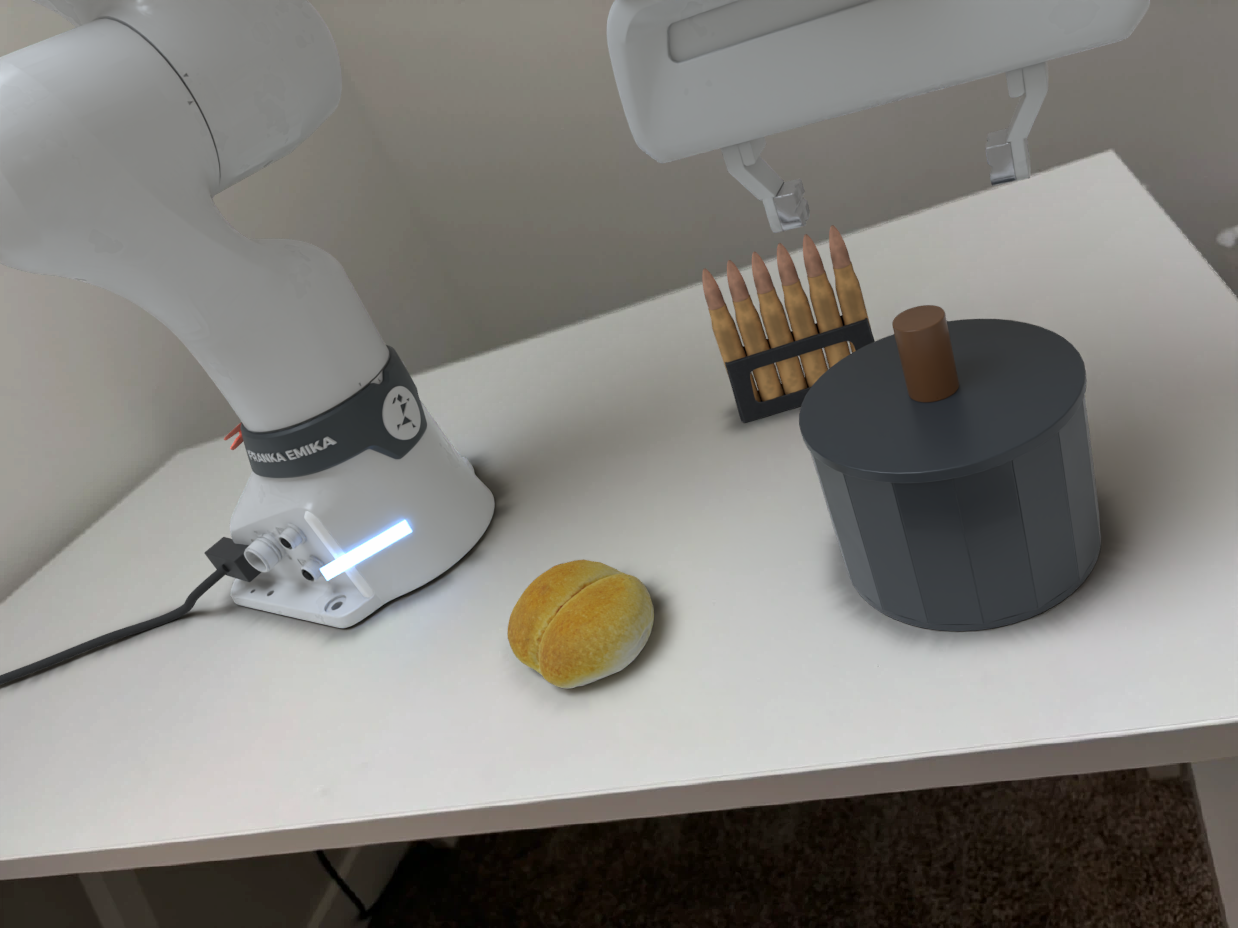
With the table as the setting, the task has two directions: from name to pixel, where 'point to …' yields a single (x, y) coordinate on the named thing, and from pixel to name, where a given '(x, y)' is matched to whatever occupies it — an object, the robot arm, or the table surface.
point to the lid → (942, 398)
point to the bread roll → (580, 622)
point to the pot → (973, 536)
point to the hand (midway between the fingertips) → (896, 202)
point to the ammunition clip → (786, 327)
